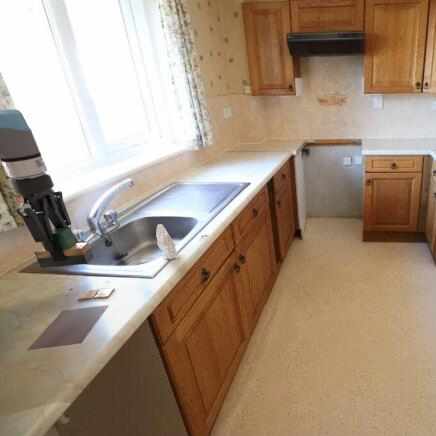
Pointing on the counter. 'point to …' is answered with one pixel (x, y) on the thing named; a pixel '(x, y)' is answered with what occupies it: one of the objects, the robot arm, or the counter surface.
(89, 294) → the tan flat block
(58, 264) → the brush
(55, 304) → the counter surface
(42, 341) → the tray
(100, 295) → the tan wooden block
